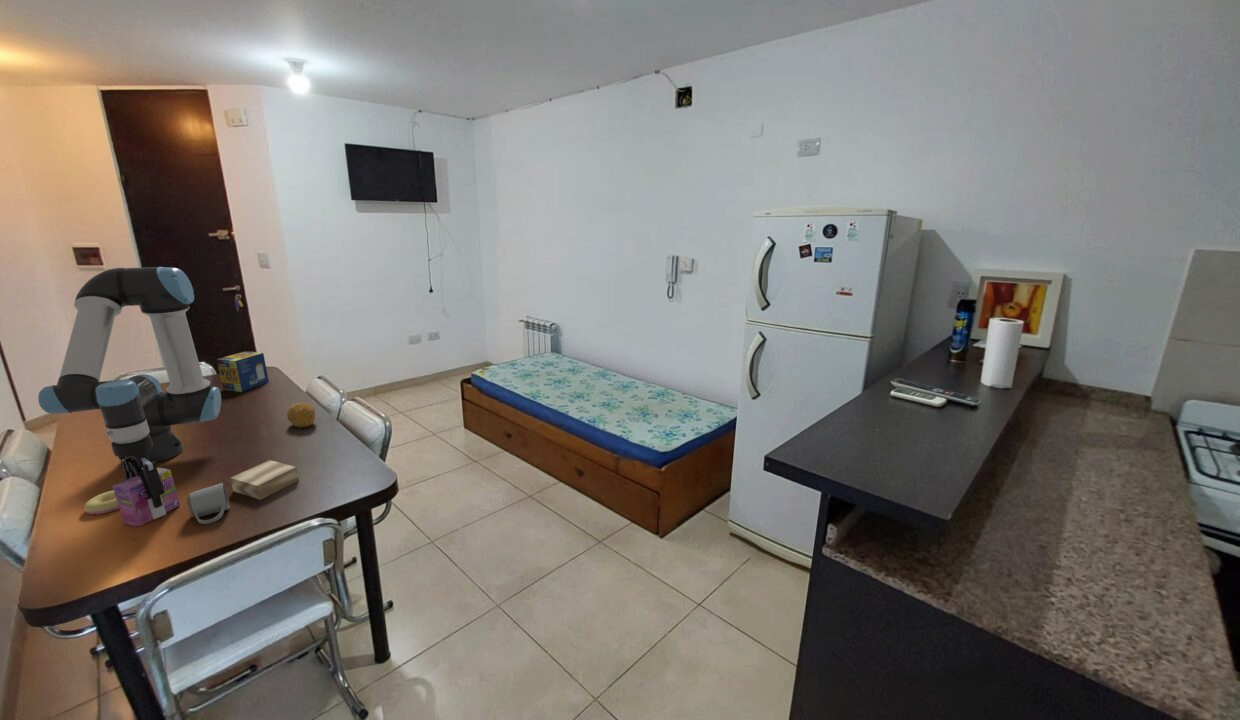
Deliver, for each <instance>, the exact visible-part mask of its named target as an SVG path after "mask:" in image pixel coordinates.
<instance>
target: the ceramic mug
mask: <svg viewBox="0 0 1240 720" xmlns="http://www.w3.org/2000/svg"><path fill="white" fill-rule="evenodd" d="M186 502H187V508H188V510H189V513H190V516H191V517H192V518H195V519H196V521H197V522H198V523H199V524H202V525H209V524H213V523H216V522H217V521H219V520H220V519H221V518H222V517H223V515H224V512H225V511H227V510H230V501H229V496H228V493H227V489H226V487H225V484H224V483H223V482H220V483H218V484H215V485H211V486H207V487H205V488H201V489H199V490H196V491H193V492H191V493H189V494H188V495H187V496H186ZM217 513H218V514H217ZM212 514H217V515H216V516H214V517H213V518H211V519H200V518H201V517H205V516H206V517H207V516H209V515H212Z"/></svg>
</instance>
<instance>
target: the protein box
mask: <svg viewBox="0 0 1240 720" xmlns="http://www.w3.org/2000/svg"><path fill="white" fill-rule="evenodd" d="M216 362H217V368H218V371H219V376H220V380H221V385H222V389H223V391H227V392H228V391H229V392H239V393H243V392H245V391H248V390H252V389H253V388H257V387H259V386H262V385H265V384H267V383H269V382H270V381H269V376H268V370H267V366H266V365H267V364H266V359H265V354H264V352H258V351H257V352H256V351H247V350H245V351H241V352H239V353H235V354H231V355H227V356H224V357H221V358H217V359H216Z"/></svg>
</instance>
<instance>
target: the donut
mask: <svg viewBox="0 0 1240 720" xmlns="http://www.w3.org/2000/svg"><path fill="white" fill-rule="evenodd" d="M83 510H84V512H86V513H87V514H89V515H94V514H96V515H102V514H103V515H104V514H107V513H111V512H115V511H117V510H120V509H119V506H118V503H117V499H116V496H115V493H114V490H110V491H105V492H103V493H100V494H98V495H95V496H94V497H92V498H90V499H88V501H86V502H85V504H84V506H83Z"/></svg>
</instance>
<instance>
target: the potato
mask: <svg viewBox="0 0 1240 720" xmlns="http://www.w3.org/2000/svg"><path fill="white" fill-rule="evenodd" d="M315 411H316V410H315V407H314V405H312V404H310V403H308V402H296V403H293V404H292V405H290V407H289V409H288V410H287V412H286V417H287V420H288V421H289V423H290V424H292V425H293V426H294V427H297V428H302V429H304V428H307V427H309V426H311V425H312V424H313V423H315V420H316V412H315Z"/></svg>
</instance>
